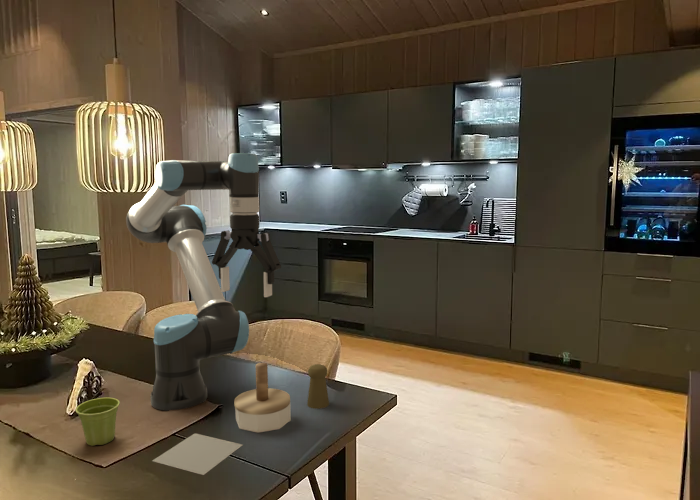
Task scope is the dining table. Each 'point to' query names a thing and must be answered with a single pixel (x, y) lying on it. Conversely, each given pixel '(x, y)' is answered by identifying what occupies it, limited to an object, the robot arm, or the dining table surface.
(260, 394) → the lid
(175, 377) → the robot arm
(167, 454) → the mat
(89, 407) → the plant pot
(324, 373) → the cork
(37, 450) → the dining table surface
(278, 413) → the bowl
